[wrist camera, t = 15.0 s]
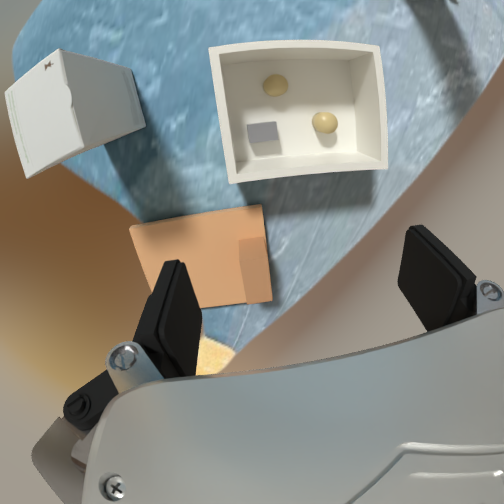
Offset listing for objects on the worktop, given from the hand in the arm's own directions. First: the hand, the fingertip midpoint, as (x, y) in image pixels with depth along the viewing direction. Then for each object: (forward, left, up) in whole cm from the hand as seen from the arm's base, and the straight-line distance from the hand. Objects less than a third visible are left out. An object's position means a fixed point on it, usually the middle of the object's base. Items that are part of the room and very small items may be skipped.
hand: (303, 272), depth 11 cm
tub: (-5, -6, -23) cm, 24 cm away
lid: (+9, +12, -22) cm, 26 cm away
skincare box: (+15, -10, -23) cm, 29 cm away
